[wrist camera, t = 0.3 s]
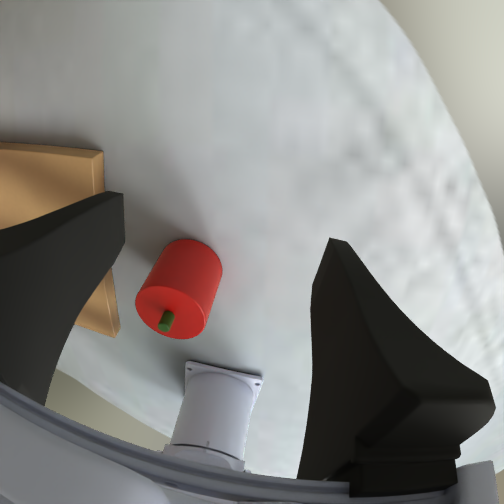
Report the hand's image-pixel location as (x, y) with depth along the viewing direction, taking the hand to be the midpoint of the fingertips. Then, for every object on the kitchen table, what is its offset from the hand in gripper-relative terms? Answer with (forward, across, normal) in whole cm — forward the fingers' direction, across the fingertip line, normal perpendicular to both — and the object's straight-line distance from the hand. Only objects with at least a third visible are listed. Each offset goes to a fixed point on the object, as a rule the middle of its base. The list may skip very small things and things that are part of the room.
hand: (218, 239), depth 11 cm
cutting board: (+10, +17, +10) cm, 22 cm away
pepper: (+10, +3, +9) cm, 14 cm away
